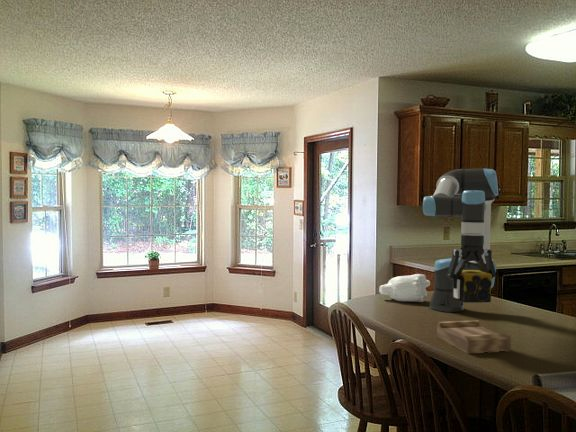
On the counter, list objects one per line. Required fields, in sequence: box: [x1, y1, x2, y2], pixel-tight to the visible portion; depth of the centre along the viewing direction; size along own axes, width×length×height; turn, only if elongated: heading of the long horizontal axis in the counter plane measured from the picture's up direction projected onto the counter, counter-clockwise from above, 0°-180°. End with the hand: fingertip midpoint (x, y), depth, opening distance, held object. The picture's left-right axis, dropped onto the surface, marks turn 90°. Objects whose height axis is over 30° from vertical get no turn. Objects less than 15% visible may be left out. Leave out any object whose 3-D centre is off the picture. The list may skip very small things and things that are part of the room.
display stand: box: [436, 319, 512, 355], centre depth 174 cm, size 16×20×6 cm
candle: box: [451, 270, 492, 304], centre depth 174 cm, size 10×10×10 cm
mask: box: [378, 273, 431, 303], centre depth 247 cm, size 14×14×25 cm
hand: (470, 297), depth 174 cm, fingers closed on candle, 10 cm apart
